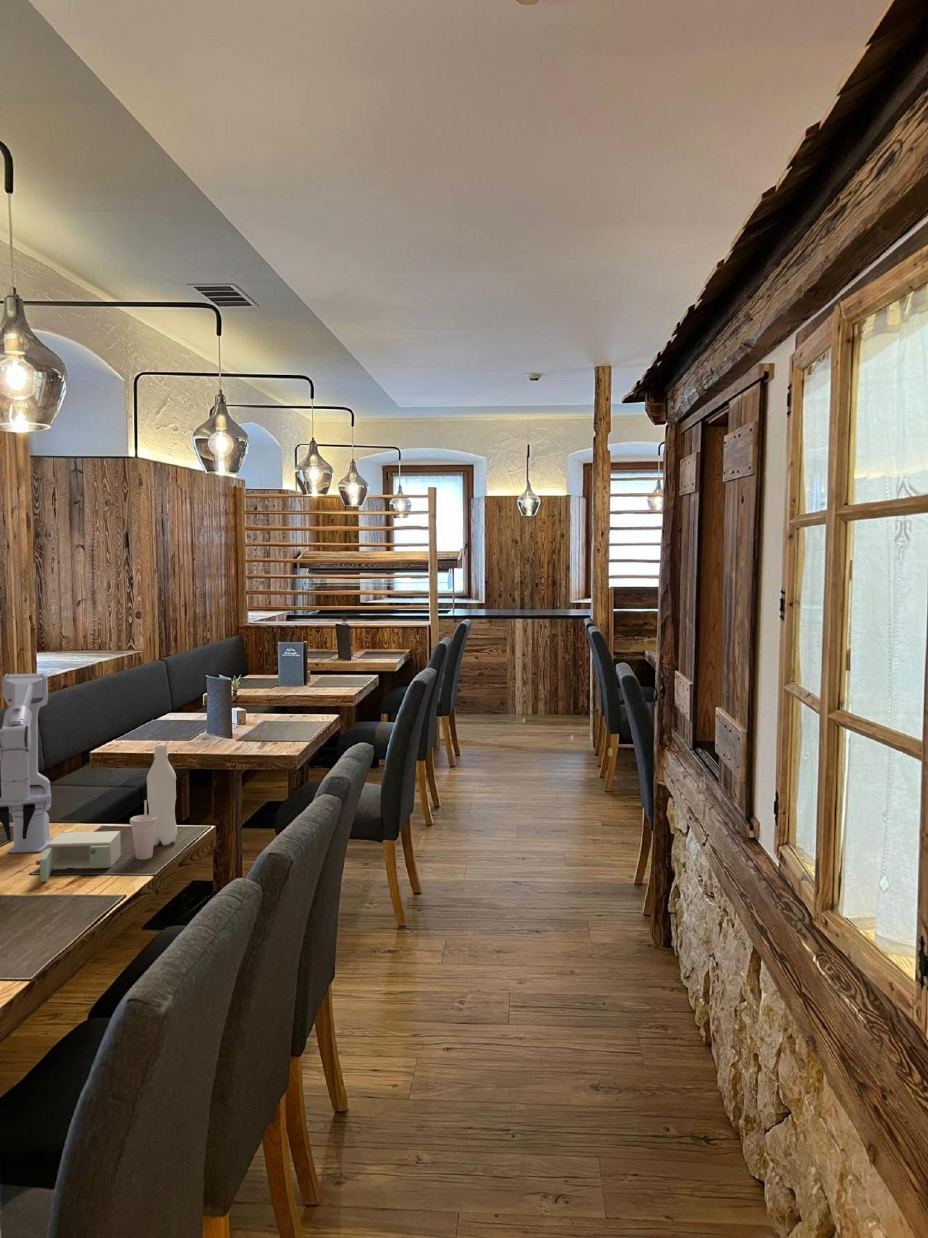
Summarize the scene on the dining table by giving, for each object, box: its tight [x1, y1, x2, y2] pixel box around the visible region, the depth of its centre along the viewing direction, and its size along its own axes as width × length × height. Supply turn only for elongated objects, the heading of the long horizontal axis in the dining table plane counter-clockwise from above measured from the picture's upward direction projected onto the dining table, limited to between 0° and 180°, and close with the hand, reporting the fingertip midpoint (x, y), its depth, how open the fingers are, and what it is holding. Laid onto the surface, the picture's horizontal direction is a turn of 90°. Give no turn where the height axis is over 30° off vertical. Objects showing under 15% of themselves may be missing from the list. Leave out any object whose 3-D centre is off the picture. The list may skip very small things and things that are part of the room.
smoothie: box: [129, 799, 158, 860], centre depth 220 cm, size 6×6×14 cm
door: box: [35, 846, 53, 883], centre depth 206 cm, size 2×9×5 cm, turn 17°
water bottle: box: [146, 744, 178, 846], centre depth 230 cm, size 7×7×25 cm
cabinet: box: [47, 830, 122, 870], centre depth 215 cm, size 11×14×6 cm
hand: (16, 838), depth 203 cm, fingers open, 2 cm apart
